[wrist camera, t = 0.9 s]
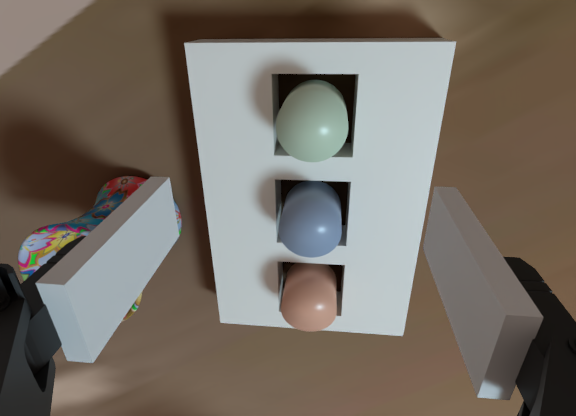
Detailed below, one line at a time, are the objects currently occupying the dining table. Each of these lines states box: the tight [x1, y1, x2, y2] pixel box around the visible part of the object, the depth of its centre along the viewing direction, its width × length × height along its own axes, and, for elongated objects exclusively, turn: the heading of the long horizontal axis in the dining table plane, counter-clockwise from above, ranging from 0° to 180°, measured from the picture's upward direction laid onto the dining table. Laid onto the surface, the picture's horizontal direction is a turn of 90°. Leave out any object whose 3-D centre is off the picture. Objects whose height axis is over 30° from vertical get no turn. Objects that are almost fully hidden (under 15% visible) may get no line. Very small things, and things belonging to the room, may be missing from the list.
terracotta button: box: [281, 262, 337, 331], centre depth 34 cm, size 5×5×4 cm
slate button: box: [279, 180, 342, 258], centre depth 30 cm, size 5×5×4 cm
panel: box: [184, 38, 456, 336], centre depth 33 cm, size 18×26×4 cm
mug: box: [18, 176, 182, 322], centre depth 33 cm, size 12×9×11 cm
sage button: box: [276, 80, 348, 162], centre depth 27 cm, size 5×5×4 cm
